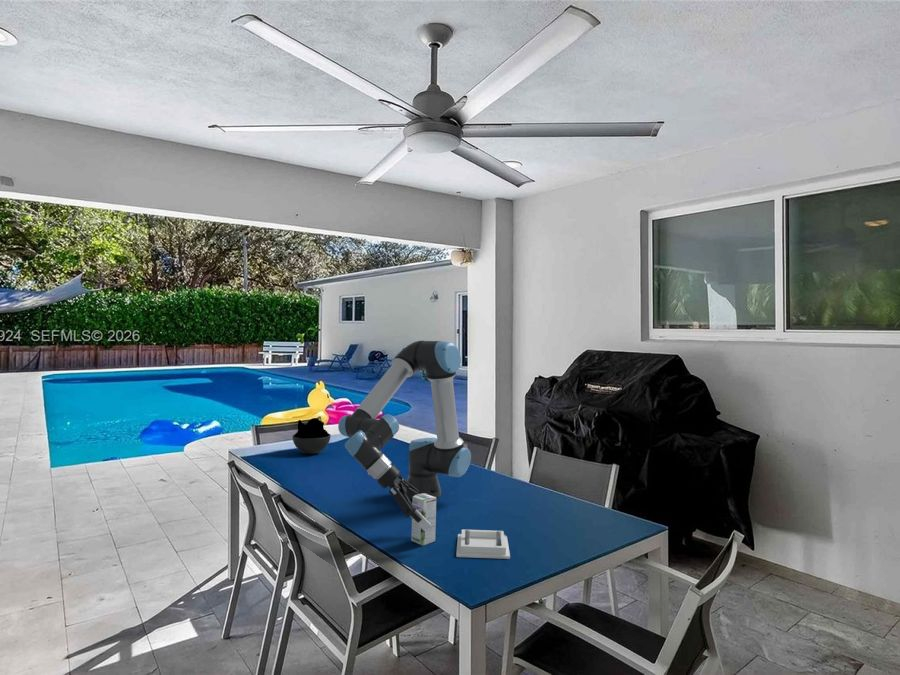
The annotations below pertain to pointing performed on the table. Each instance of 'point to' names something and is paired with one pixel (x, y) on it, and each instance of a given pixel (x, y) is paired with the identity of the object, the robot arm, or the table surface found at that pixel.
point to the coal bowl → (311, 436)
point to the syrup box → (428, 510)
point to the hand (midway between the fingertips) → (429, 520)
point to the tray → (483, 544)
